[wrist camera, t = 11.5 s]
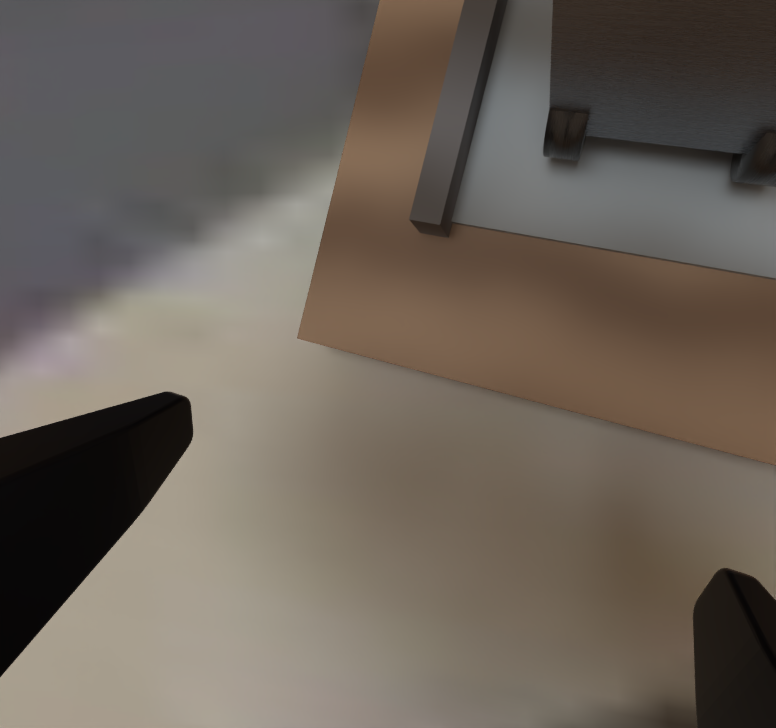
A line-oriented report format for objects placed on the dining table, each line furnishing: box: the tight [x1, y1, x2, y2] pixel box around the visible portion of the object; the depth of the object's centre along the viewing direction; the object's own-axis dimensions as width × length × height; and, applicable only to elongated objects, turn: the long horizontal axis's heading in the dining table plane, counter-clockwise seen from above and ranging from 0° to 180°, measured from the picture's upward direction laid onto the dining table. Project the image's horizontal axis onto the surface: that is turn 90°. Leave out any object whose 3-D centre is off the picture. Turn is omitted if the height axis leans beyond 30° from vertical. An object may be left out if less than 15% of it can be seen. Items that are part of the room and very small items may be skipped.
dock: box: [297, 0, 776, 465], centre depth 16 cm, size 20×20×4 cm
